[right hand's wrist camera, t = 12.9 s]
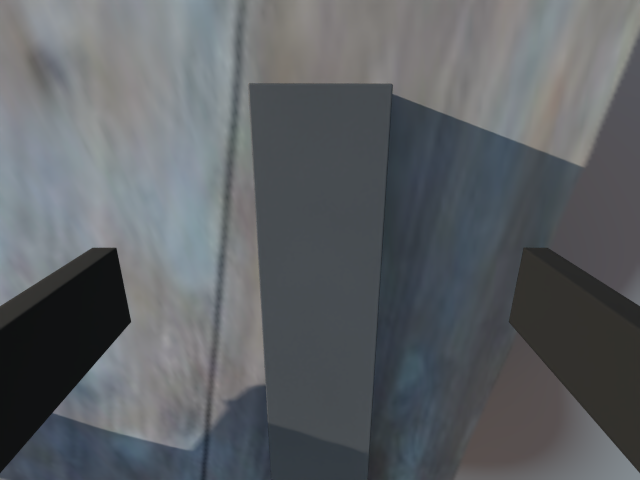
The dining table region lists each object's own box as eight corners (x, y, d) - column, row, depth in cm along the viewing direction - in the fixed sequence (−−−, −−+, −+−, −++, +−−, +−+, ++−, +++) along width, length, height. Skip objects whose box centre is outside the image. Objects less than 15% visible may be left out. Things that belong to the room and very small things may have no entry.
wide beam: (262, 87, 32) (248, 83, 26) (377, 88, 32) (393, 83, 26) (284, 569, 54) (280, 633, 48) (353, 569, 54) (357, 633, 48)
